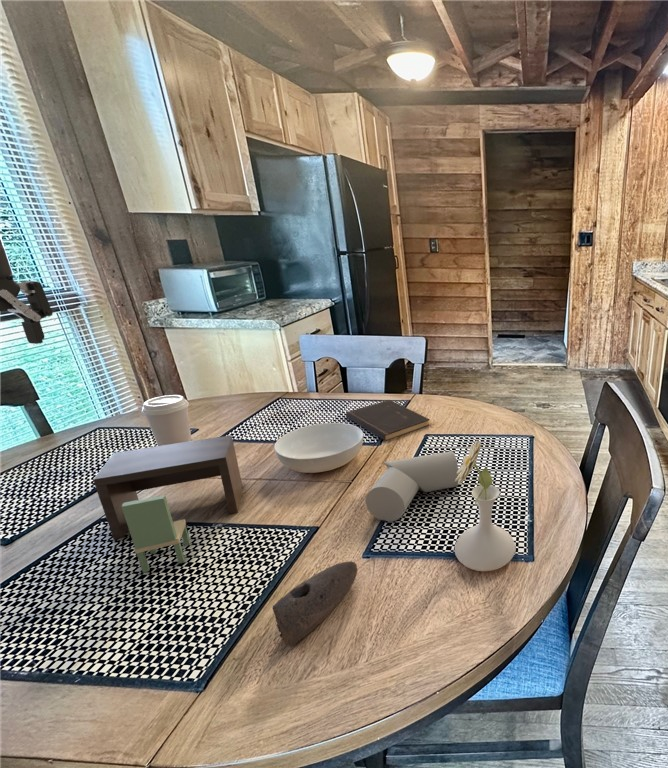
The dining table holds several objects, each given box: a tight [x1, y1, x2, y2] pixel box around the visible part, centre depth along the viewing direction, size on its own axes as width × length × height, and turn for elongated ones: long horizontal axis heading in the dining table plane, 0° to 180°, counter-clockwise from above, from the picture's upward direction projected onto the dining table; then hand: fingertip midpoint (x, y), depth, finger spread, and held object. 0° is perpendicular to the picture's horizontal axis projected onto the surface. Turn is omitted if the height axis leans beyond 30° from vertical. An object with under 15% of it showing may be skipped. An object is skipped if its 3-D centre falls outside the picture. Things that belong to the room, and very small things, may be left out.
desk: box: [92, 435, 243, 541], centre depth 86 cm, size 11×20×14 cm, turn 117°
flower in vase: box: [454, 440, 516, 572], centre depth 74 cm, size 13×11×25 cm
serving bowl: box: [273, 422, 364, 474], centre depth 107 cm, size 21×21×7 cm
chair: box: [122, 494, 191, 574], centre depth 73 cm, size 6×6×14 cm
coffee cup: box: [141, 394, 193, 446], centre depth 108 cm, size 10×10×15 cm
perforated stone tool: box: [272, 561, 358, 648], centre depth 64 cm, size 15×5×7 cm, turn 152°
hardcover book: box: [346, 399, 431, 442], centre depth 133 cm, size 16×23×2 cm
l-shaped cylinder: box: [365, 450, 460, 522], centre depth 94 cm, size 18×11×20 cm
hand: (3, 348), depth 68 cm, fingers open, 8 cm apart
